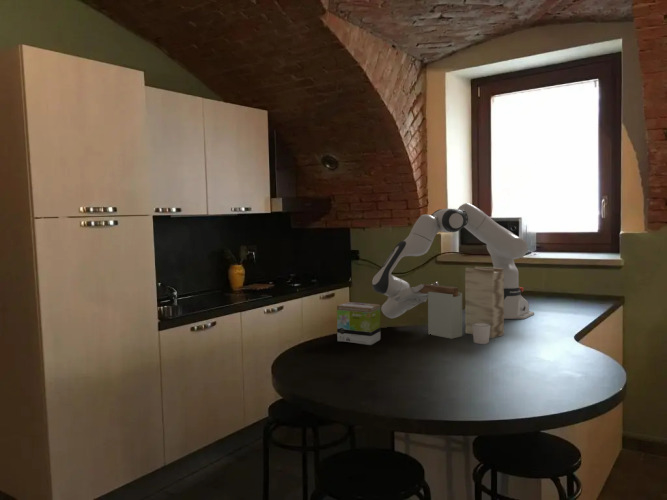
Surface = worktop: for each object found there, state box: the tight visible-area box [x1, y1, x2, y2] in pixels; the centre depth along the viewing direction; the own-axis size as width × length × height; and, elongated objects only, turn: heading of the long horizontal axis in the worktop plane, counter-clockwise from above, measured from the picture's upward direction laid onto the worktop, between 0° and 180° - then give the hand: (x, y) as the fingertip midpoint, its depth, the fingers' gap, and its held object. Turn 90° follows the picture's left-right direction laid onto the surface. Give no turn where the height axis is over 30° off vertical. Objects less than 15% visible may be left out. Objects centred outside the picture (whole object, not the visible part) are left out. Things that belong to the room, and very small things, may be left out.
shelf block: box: [464, 266, 505, 339], centre depth 221 cm, size 8×13×27 cm, turn 40°
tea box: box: [336, 301, 381, 346], centre depth 214 cm, size 15×10×15 cm, turn 62°
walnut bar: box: [418, 283, 459, 297], centre depth 223 cm, size 4×18×4 cm, turn 40°
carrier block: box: [427, 291, 463, 340], centre depth 221 cm, size 7×12×18 cm, turn 40°
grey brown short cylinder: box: [472, 323, 490, 345], centre depth 208 cm, size 7×7×7 cm
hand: (430, 284), depth 226 cm, fingers open, 8 cm apart
